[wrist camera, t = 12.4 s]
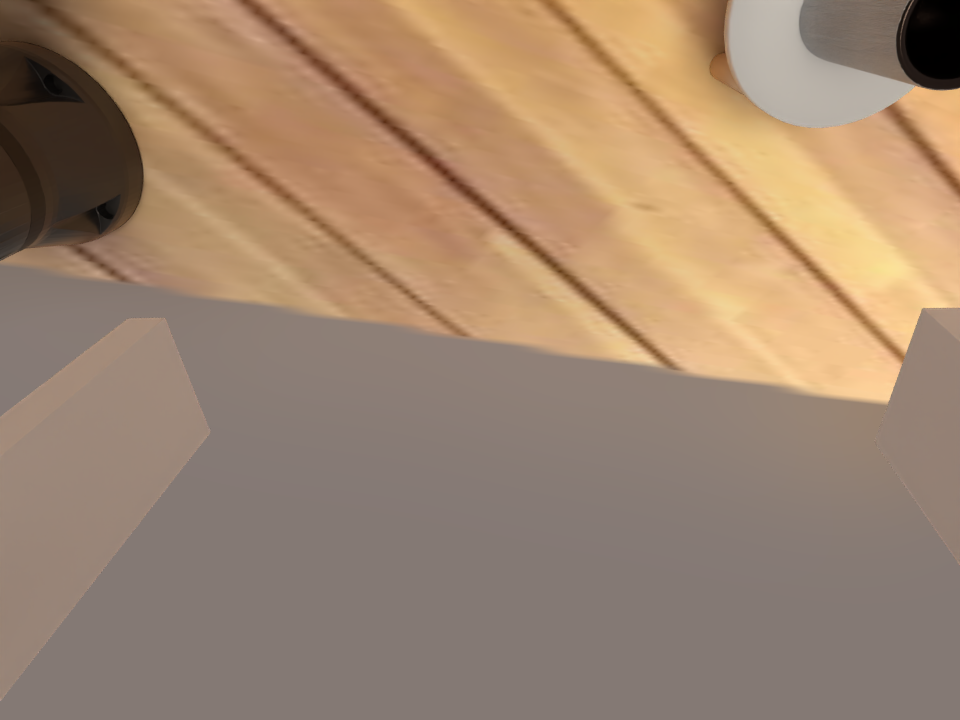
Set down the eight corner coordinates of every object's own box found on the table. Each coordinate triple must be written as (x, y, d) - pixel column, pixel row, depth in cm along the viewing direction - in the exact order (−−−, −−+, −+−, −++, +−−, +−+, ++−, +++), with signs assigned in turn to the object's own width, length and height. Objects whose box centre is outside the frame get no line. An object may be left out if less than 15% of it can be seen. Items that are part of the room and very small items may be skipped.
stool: (684, 103, 41) (717, 133, 33) (704, -95, 35) (750, -120, 27) (854, 93, 40) (933, 122, 31) (904, -115, 34) (1017, -148, 26)
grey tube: (777, 22, 30) (868, 37, 21) (857, -69, 28) (994, -94, 19) (838, 80, 31) (948, 117, 22) (920, -3, 29) (1077, 1, 20)
